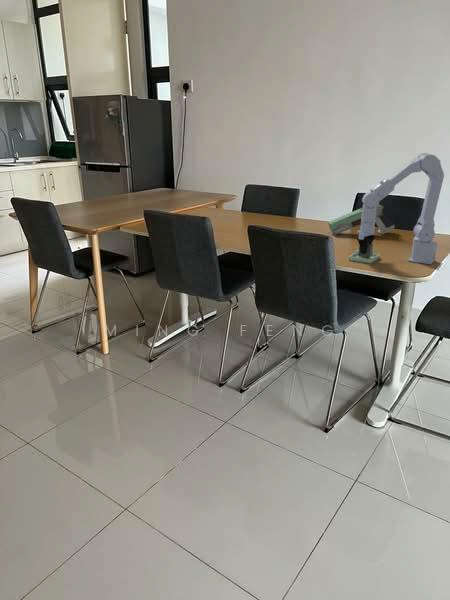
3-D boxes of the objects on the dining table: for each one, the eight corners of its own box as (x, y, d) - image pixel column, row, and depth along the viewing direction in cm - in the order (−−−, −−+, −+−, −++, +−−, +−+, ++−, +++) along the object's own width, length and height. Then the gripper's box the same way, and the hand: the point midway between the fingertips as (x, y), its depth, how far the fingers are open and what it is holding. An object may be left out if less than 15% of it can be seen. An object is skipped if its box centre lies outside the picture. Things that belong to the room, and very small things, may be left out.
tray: (379, 258, 199) (379, 254, 198) (371, 264, 190) (371, 260, 190) (357, 254, 204) (357, 250, 203) (348, 260, 196) (348, 256, 195)
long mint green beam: (396, 229, 238) (386, 194, 231) (339, 252, 242) (327, 218, 235) (391, 226, 245) (381, 192, 238) (335, 249, 248) (324, 216, 241)
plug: (371, 256, 196) (373, 244, 194) (369, 258, 194) (370, 245, 192) (357, 254, 200) (358, 241, 198) (354, 255, 198) (355, 243, 195)
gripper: (364, 217, 199) (361, 247, 204) (352, 223, 188) (349, 254, 193) (380, 219, 195) (377, 249, 200) (369, 225, 184) (365, 257, 189)
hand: (364, 252), depth 196 cm, fingers closed on plug, 3 cm apart
